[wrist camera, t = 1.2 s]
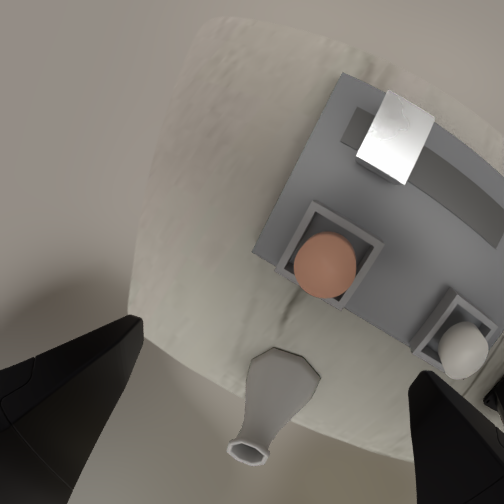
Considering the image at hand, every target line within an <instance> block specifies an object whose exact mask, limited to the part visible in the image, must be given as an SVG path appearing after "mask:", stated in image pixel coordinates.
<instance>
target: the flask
mask: <svg viewBox="0 0 504 504" xmlns="http://www.w3.org/2000/svg"><path fill="white" fill-rule="evenodd" d="M320 379H321V378H320V377H319V376H318V374H317V373H316V372H315V371H314V370H313V369H312V367H311V366H310V365H309V364H308V363H307V362H306V360H305V359H304V358H303V357H299V356H296V355H293V354H290V353H287V352H284V351H281V350H278V349H275V348H272V349H271V350H269V351H267V352H265V353H263V354H262V355H260V356H258V357H256V358H254V359H252V360H251V363H250V367H249V371H248V375H247V379H246V401H245V402H246V403H245V415H244V422H243V425H242V428H241V430H240V432H239V434H238V436H237V437H236V438H235V439H232V440H231V441H229V444H228V447H227V450H226V452H228V453H229V454H230V455H231V456H232V457H233V458H235V459H236V460H237V461H239V462H242V463H245V464H247V465H250V466H257V465H263V464H265V463H266V461H267V459H268V457H269V455H270V451H269V450H268V448H269V445H270V443H271V441H272V440H273V439H274V438H275V436H276V435H277V433H278V432H279V430H280V429H281V428H283V426H284V425H286V423H287V422H288V421H289V420H290V419H291V418H292V417H293V416H294V415H295V414H296V413H297V412H298V411H299V410H301V409H302V408H303V407H304V406H305V405H306V404H307V403H308V402H309V400H310V399H311V398H312V396H313V394H314V392H315V390H316V388H317V386H318V383H319V381H320Z"/></svg>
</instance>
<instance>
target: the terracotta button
mask: <svg viewBox="0 0 504 504" xmlns="http://www.w3.org/2000/svg"><path fill="white" fill-rule="evenodd" d="M294 274H295V277H296V280H297V282H298V283H299V285H300V286H301V287H302V289H303V290H305V291H306V292H307V293H309V294H310V295H312V296H315V297H318V298H333V297H336V296H339V295H341V294H343V293H344V292H345V291H346V290H347V289H348V288H349V287H350V286H351V285H352V283H353V281H354V278H355V275H356V256H355V251H354V249H353V246H352V245H351V243H350V242H349V241H348V240H347V239H346V238H345V237H343V236H342V235H340V234H338V233H335V232H320V233H317V234H315V235H313V236H312V237H310V238H309V239H308V240H307V241H306V242H305V243H304V245H303V246H302V247H301V248H300V250H299V251H298V253H297V255H296V257H295V261H294Z"/></svg>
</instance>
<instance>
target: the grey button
mask: <svg viewBox="0 0 504 504" xmlns="http://www.w3.org/2000/svg"><path fill="white" fill-rule="evenodd" d="M438 354H439V357H440V360H441V362H442V365H443V368H444V371H445V373H446V375H447V376H448V377H450V378H452V379H464V378H467V377H469V376H471V375H472V374H474V373H475V372H476V371H478V370H479V369H480V367H481V366H482V365H483V363H484V362H485V360H486V358H487V355H488V343H487V341H486V339H485V338H484V336H483V335H482V334H481V332H480V331H479V329H478V328H477V326H476V325H475V324H473V323H471V322H460V323H457V324H455V325H453V326H452V327H450V328H449V329H448V330H447V331H446V332H445V333H444V335H443V336H442V338H441V340H440V342H439V345H438Z"/></svg>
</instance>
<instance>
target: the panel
mask: <svg viewBox="0 0 504 504" xmlns="http://www.w3.org/2000/svg"><path fill="white" fill-rule="evenodd" d="M385 95H386V93H385V92H383V91H381V90H379V89H377V88H375V87H373V86H371V85H369V84H367V83H365V82H363V81H361V80H359V79H357V78H354V77H352V76H350V75H348V74H345V73H343V72H342V74H341V76H340V78H339V80H338V82H337V84H336V86H335V88H334V90H333V92H332V94H331V96H330V98H329V100H328V102H327V104H326V106H325V108H324V110H323V112H322V114H321V116H320V118H319V120H318V122H317V124H316V126H315V128H314V129H313V131H312V133H311V135H310V137H309V139H308V141H307V143H306V145H305V147H304V149H303V151H302V153H301V155H300V157H299V159H298V161H297V163H296V165H295V167H294V169H293V171H292V173H291V175H290V177H289V179H288V181H287V183H286V185H285V187H284V189H283V191H282V193H281V195H280V197H279V199H278V201H277V203H276V205H275V207H274V209H273V211H272V213H271V215H270V217H269V218H268V220H267V222H266V224H265V226H264V228H263V230H262V232H261V234H260V236H259V238H258V240H257V242H256V244H255V246H254V248H253V250H252V253H254V254H256V255H257V256H259V257H261V258H262V259H264V260H266V261H267V262H269V263H271V264H272V265H274V266H276V268H275V270H274V271H275V272H277V273H278V274H280V275H282V276H283V277H285V278H287V279H288V280H290V281H292V282H293V283H295V284H297V285H298V286H300V285H299V283H298V282H297V280H296V277H295V274H294V261H295V257H296V255H297V253H298V251H299V250H300V248H301V247H302V246H303V245H304V243H305V242H306V241H307V240H308V239H309V238H310V237H312V236H313V235H315V234H317V233H320V232H335V233H338V234H340V235H342V236H343V237H345V238H346V239H347V240H348V241H349V242H350V243H351V245H352V246H353V249H354V251H355V256H356V275H355V278H354V281H353V283H352V285H351V286H350V287H349V288H348V289H347V290H346V291H345V292H344V293H343V294H341V295H339V296H336V297H333V298H320V299H321V300H323V301H325V302H326V303H328V304H330V305H331V306H333V307H335V308H336V309H338V310H340V311H342V309H343V308H345V309H347V310H349V311H350V312H352V313H354V314H355V315H357V316H359V317H360V318H362V319H364V320H365V321H367V322H369V323H370V324H372V325H374V326H375V327H377V328H379V329H380V330H382V331H384V332H385V333H387V334H389V335H390V336H392V337H394V338H395V339H397V340H399V341H400V342H402V343H404V344H405V345H407V346H409V347H410V348H411V352H412V354H414V355H415V356H417V357H419V358H420V359H422V360H424V361H425V362H427V363H429V364H430V365H432V366H434V367H436V368H437V369H439V370H441V371H442V372H444V373H445V371H444V368H443V365H442V362H441V360H440V357H439V354H438V345H439V342H440V340H441V338H442V336H443V335H444V333H445V332H446V331H447V330H448V329H449V328H450V327H452V326H453V325H455V324H457V323H460V322H471V323H473V324H475V325H476V326H477V328H478V329H479V331H480V332H481V334H482V335H483V336H484V338H485V339H486V341H487V343H488V351H489V349H490V348H491V347H492V346H493V344H494V343H495V342H496V340H497V339H498V338H499V336H500V335H501V334H502V332H503V331H504V177H503V176H502V175H501V174H500V173H499V172H498V171H496V170H495V169H494V168H493V167H492V166H491V165H490V164H489V163H487V162H486V161H485V160H484V159H483V158H482V157H480V156H479V155H478V154H477V153H476V152H474V151H473V150H472V149H471V148H469V147H468V146H467V145H466V144H464V143H463V142H462V141H460V140H459V139H458V138H456V137H455V136H454V135H452V134H451V133H449V132H448V131H447V130H445V129H444V128H442V127H441V126H440V125H438V124H437V123H435V122H434V123H433V125H432V128H431V130H430V132H429V135H428V137H427V139H426V141H425V144H424V146H423V148H422V150H421V152H420V154H419V157H418V159H417V161H416V163H415V165H414V167H413V169H412V171H411V173H410V175H409V177H408V179H407V181H406V183H405V185H394V184H392V183H390V182H389V181H387V180H386V179H384V178H382V177H381V176H379V175H377V174H376V173H374V172H372V171H371V170H369V169H367V168H365V167H364V166H362V165H360V164H358V163H357V162H355V158H356V155H357V153H358V151H359V149H360V147H361V145H362V143H363V141H364V139H365V137H366V135H367V133H368V131H369V129H370V127H371V125H372V123H373V120H374V118H375V116H376V114H377V112H378V110H379V108H380V106H381V104H382V102H383V99H384V97H385ZM300 287H301V286H300ZM464 379H465V378H464ZM464 379H463V380H464Z"/></svg>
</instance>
